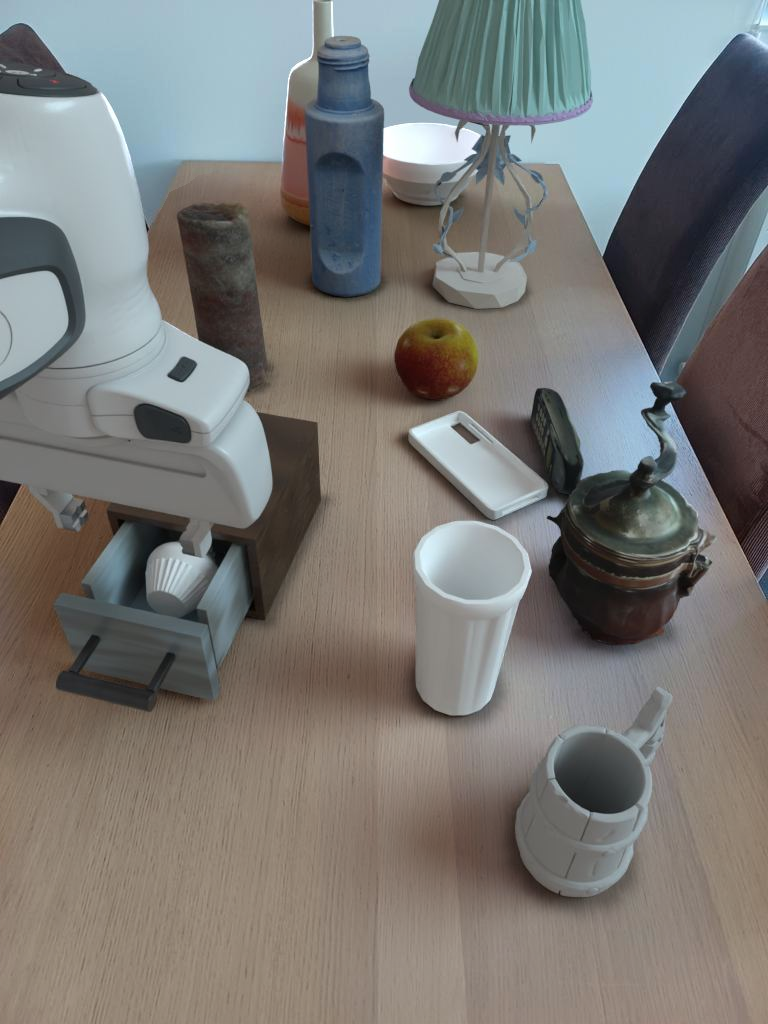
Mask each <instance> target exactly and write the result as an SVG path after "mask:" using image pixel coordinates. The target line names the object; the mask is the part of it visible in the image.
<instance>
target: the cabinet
mask: <svg viewBox="0 0 768 1024" xmlns="http://www.w3.org/2000/svg"><path fill="white" fill-rule="evenodd" d="M256 413H257V415H258V416H259V418H260V421H261V423H262V426H263V429H264V433H265V437H266V441H267V446H268V451H269V456H270V463H271V470H272V484H273V486H272V492H271V495H270V497H269V500H268V502H267V504H266V506H265V508H264V510H263V512H262V513H261V515H260V516H259V518H258V519H257V520H256V521H255V522H254V523H253V524H251V525H250V526H249V527H247V528H236V527H231V526H227V525H222V524H217V523H214V524H213V526H212V528H211V529H210V531H211V537H212V538H214V539H219V540H224V541H229V542H234V543H239V544H244V545H247V551H248V558H249V565H250V573H251V580H252V587H253V595H254V599H253V601H252V603H251V605H250V607H249V609H248V611H247V613H246V615H245V617H251V618H255V619H260V620H266V619H267V617H268V615H269V613H270V610H271V608H272V607H273V604H274V602H275V600H276V598H277V595H278V593H279V591H280V589H281V587H282V585H283V583H284V581H285V578H286V576H287V574H288V572H289V570H290V568H291V566H292V563H293V562H294V559H295V557H296V555H297V553H298V551H299V549H300V546H301V545H302V542H303V540H304V538H305V536H306V534H307V532H308V529H309V527H310V525H311V523H312V520H313V519H314V516H315V514H316V512H317V510H318V508H319V506H320V503H321V501H322V491H321V489H322V488H321V470H320V469H321V467H320V447H319V446H320V444H319V425H318V423H319V422H317V421H312V420H311V421H310V420H307V419H301V418H295V417H288V416H284V415H279V414H272V413H266V412H261V411H260V412H259V411H256ZM105 512H106V515H107V516H106V517H107V519H108V522H109V526H110V529H111V533H112V537H114V536H115V534H116V533H117V531H118V530H119V529H120V527H121V526H122V524H123V523H124V522H125V520H126V521H131V522H136V523H140V524H145V525H150V526H155V527H160V528H165V529H170V530H175V531H180V532H185V531H187V530H186V527H187V525H188V524H189V522H190V518H187V517H182V516H177V515H172V514H167V513H162V512H157V511H152V510H147V509H142V508H137V507H133V506H128V505H123V504H118V503H113V502H110V503H109V505H108V506H107V507H106V508H105Z"/></svg>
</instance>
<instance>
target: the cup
mask: <svg viewBox="0 0 768 1024" xmlns="http://www.w3.org/2000/svg"><path fill="white" fill-rule="evenodd" d="M411 558H412V561H411V562H412V573H413V574H412V575H413V581H414V585H415V688H416V690H417V692H418V694H419V696H420V698H421V700H422V701H423V702H424V703H426V704H427V705H428V706H429V707H431V708H432V709H433V710H434V711H437V712H439V713H442V714H446V715H448V716H467V715H471V714H474V713H476V712H479V711H481V710H482V709H483V708H484V707H485V706H486V705H487V704H488V703H489V702H490V701H491V700H492V697H493V695H494V691H495V688H496V685H497V681H498V679H499V675H500V671H501V668H502V664H503V660H504V657H505V654H506V650H507V646H508V643H509V640H510V636H511V633H512V629H513V626H514V622H515V618H516V616H517V612H518V607H519V604H520V601H521V600H522V599H523V597H524V594H525V592H526V590H527V587H528V584H529V582H530V579H531V575H532V573H533V571H532V566H531V561H530V555H529V554H528V552H527V550H526V549H525V547H524V546H523V545H522V544H521V542H520V541H519V540H518V539H517V538H516V536H514V535H512V534H511V533H509V532H508V531H505V530H504V529H503V528H501V527H500V526H497V525H493V524H490V523H486V522H482V521H479V520H454V521H450V522H447V523H444V524H441V525H437V526H435V527H434V528H433V529H431V530H429V531H428V532H427V533H425V534H424V535H423V536H422V537H420V539H419V540H418V542H417V544H416V546H415V548H414V550H413V552H412V554H411Z"/></svg>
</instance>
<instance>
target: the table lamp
mask: <svg viewBox="0 0 768 1024" xmlns="http://www.w3.org/2000/svg"><path fill="white" fill-rule="evenodd" d="M588 47H589V46H588V38H587V30H586V20H585V16H584V12H583V6H582V0H438V3H437V5H436V8H435V12H434V14H433V18H432V20H431V24H430V26H429V29H428V32H427V34H426V37H425V39H424V42H423V45H422V48H421V50H420V53H419V56H418V58H417V65H416V69H415V70H416V71H415V75H414V77H413V78H412V79H411V82H410V84H409V86H408V93H409V97H410V98H411V100H412V102H414V103H415V104H416V105H418V106H419V107H421V108H423V109H425V110H426V111H429V112H431V113H434V114H437V115H439V116H443V117H446V118H450V119H454V120H458V123H457V128H456V131H455V136H456V140H457V142H458V137H459V132H460V129H461V128H464V127H465V126H466V125H467V124H468V123H471V124H475V125H478V126H481V127H483V129H484V130H485V134H480V135H481V136H480V138H479V139H478V141H477V142H476V143H475V145H474V146H473V148H472V150H474V151H476V154H472V155H470V156H469V157H467V158H466V159H464V160H465V161H467V162H466V163H465V164H464V165H462V166H461V167H460V168H458V169H457V170H455V171H453V172H452V173H451V172H445V173H443V174H442V176H441V178H440V180H438V181H437V182H436V185H435V188H434V192H435V194H436V196H437V199H438V201H439V202H440V203H441V205H442V207H441V210H440V213H439V220H438V228H437V231H438V232H437V233H438V237H439V240H438V242H437V244H435V243H433V245H432V246H433V247H432V248H433V249H432V250H433V252H434V253H435V254H438V255H442V256H444V257H445V258H443V259H440V260H438V261H436V264H435V269H434V274H433V278H432V279H433V280H432V284H431V285H432V288H433V289H434V290H436V291H437V292H438V293H439V294H440V295H441V296H442V297H443V298H444V300H446V301H447V303H450V304H455V305H458V306H463V307H467V308H471V309H475V310H480V309H481V310H482V309H483V310H484V309H502V308H505V307H506V306H507V307H508V306H509V305H511V304H515V303H517V302H518V301H519V300H520V299H521V298H522V296H523V295H524V294H525V292H526V288H527V287H526V286H527V281H528V276H527V274H526V272H525V270H524V268H523V267H522V264H521V263H520V261H521V260H522V259H524V258H525V257H526V256H527V255H529V254H531V253H534V251H535V250H536V246H537V242H538V238H537V239H535V240H532V238H531V236H530V235H531V232H532V229H533V223H534V222H533V212H534V211H536V210H538V209H539V208H540V207H541V206H542V204H543V203H544V202H545V201H546V199H547V198H548V188H547V185H546V184H545V181H544V177H543V175H542V174H541V172H539V171H537V170H534V169H529V168H527V167H525V166H524V165H522V164H521V163H520V162H522V159H521V158H520V157H519V156H517V155H516V154H513V153H511V150H510V144H509V143H510V140H511V134H509V135H506V131H507V130H508V129H509V127H510V126H529V127H530V144H532V143H533V140H534V137H535V135H536V132H537V131H536V130H537V129H536V126H541V125H542V126H543V125H548V124H555V123H562V122H565V121H570V120H572V119H576V118H578V117H581V116H582V115H584V114H585V113H587V112H588V111H589V110H590V109H591V108H592V104H593V101H594V97H593V91H592V69H591V62H590V55H589V48H588ZM490 125H491V126H490ZM500 128H501V130H500ZM472 163H473V164H472ZM470 164H472V165H471V166H470V167H469V169H468V170H467V171H466V172H465V173H464V175H463V176H462V177H461V178H460V179H459V181H458V182H457V183H456V184H455V185H454V187H453V188H452V189H451V191H450V193H449V195H448V197H447V199H446V201H445V203H444V202H443V201H442V200H441V198H440V195H439V193H438V190H437V188H438V187H439V186H440V184H441V183H442V182H447V181H449V180H451V179H452V178H453V177H454V176H455V175H456V173H457V172H459V171H460V170H462V169H464V168H465V167H467V166H468V165H470ZM512 164H514V165H516V166H517V167H519V168H520V169H522V170H524V171H526V172H528V173H529V174H530V177H531V178H532V180H533V181H534V182H535V183H536V184H540V187H541V188H542V190H543V194H542V196H543V197H542V198H541V200H540V201H539V203H538V204H536V205H535V206H533V202H532V201H533V199H532V198H531V196H530V194H529V192H528V191H527V189H526V187H525V185H524V183H523V182H522V179H520V177H519V175H518V174H517V171H516V170H515V168H514V167H513V165H512ZM505 167H506V168H507V170H508V172H509V173H510V175H511V177H512V179H513V180H514V182H515V184H516V185H517V188H518V189H519V191H520V193H521V194H522V196H523V198H524V201H525V207H526V210H525V212H524V214H522V213H521V212H520V211H519V210H518V209H517V208H516V207H513V212H514V214H515V216H516V218H517V219H518V221H519V222H520V224H521V225H523V228H524V232H523V234H522V237H521V239H520V241H519V243H518V245H517V246H515V248H513V249H512V250H511V251H510V252H509V253H507V254H506V255H505V256H504V255H501V254H496V253H492V252H489V251H487V243H488V235H489V224H490V216H491V207H492V199H493V189H494V182H495V178H496V180H498V182H499V183H501V185H503V186H505V178H506V177H505V176H506V175H505V173H504V169H505ZM475 169H477V170H478V172H477V173H476V175H475V185H478V184H479V183H480V182H482V180H483V179H484V178H485V177H486V179H485V190H484V191H485V192H484V201H483V210H482V219H481V220H482V221H481V229H480V230H481V231H480V240H479V249H478V251H471V252H470V251H469V252H466V251H465V252H455V251H454V250H453V249H452V248H451V247H450V246H449V245H448V241H447V237H446V235H447V233H448V231H449V230H450V227H451V225H452V224H453V223H456V222H458V221H459V220H460V218H461V217H462V214H463V211H464V206H463V207H461V208H460V209H457V210H455V212H454V208H453V207H452V206H450V204H451V202H452V201H451V199H452V197H453V196H454V195H455V193H456V192H457V191H458V190H459V188H460V187H461V186H462V185H463V184H464V182H465V181H466V180H467V179H468V178H469V176H470V175H471V174H472V173H473V172H474V170H475ZM448 210H449V212H450V214H449V217H448V218H447V219H448V220H447V222H446V224H445V226H444V220H445V218H446V216H447V213H448ZM525 246H526V247H525ZM524 247H525V250H524V253H522V254H519V255H518V256H517V257H514V256H515V255H516V254H517V253H518V252H520V251H521V250H522V249H523V248H524ZM443 249H444V250H445V251H443ZM512 257H514V258H513V259H512Z"/></svg>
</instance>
